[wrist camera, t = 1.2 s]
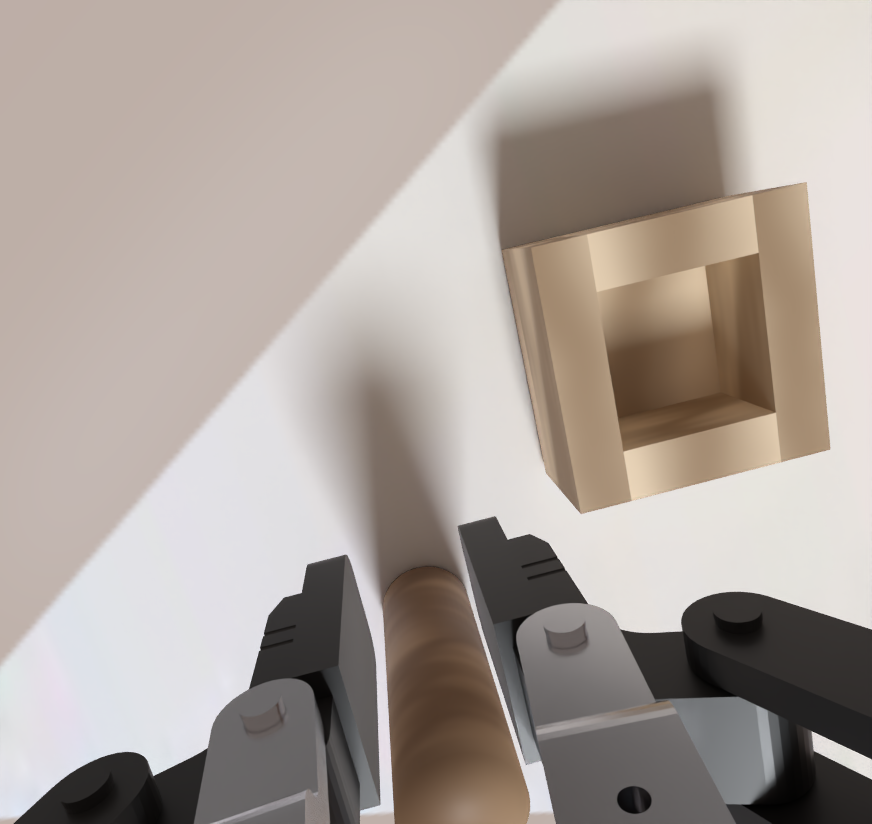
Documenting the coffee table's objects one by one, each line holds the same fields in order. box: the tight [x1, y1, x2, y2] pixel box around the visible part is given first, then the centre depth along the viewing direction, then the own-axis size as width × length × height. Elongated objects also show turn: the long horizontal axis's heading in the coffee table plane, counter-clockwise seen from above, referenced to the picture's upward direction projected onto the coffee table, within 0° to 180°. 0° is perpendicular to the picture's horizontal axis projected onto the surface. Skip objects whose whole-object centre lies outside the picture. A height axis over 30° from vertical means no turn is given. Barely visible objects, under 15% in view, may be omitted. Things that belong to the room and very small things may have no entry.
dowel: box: [383, 567, 530, 824], centre depth 25 cm, size 4×4×12 cm
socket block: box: [502, 182, 830, 514], centre depth 27 cm, size 10×10×5 cm
